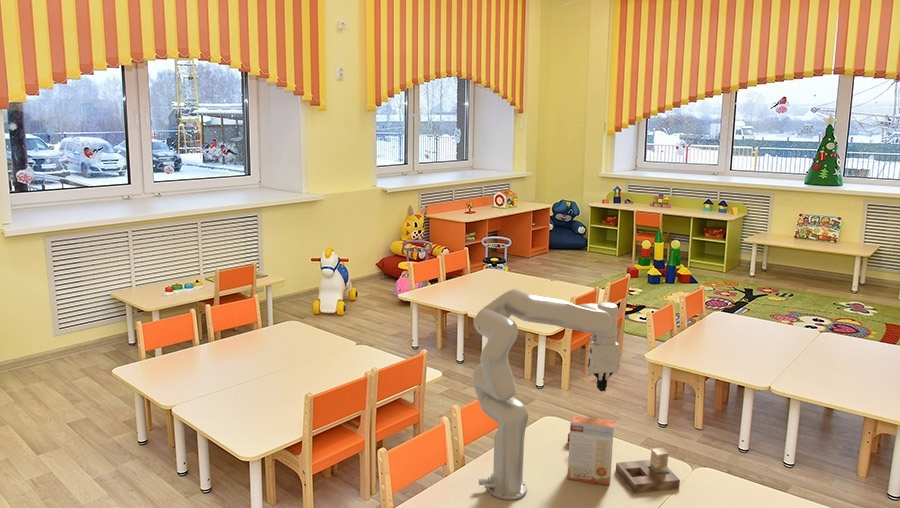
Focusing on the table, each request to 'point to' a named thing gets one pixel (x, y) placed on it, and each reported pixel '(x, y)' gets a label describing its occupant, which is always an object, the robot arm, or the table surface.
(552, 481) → the table surface
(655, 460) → the peg
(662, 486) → the peg board
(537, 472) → the table surface
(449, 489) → the table surface
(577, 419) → the cracker box
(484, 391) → the robot arm
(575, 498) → the table surface
